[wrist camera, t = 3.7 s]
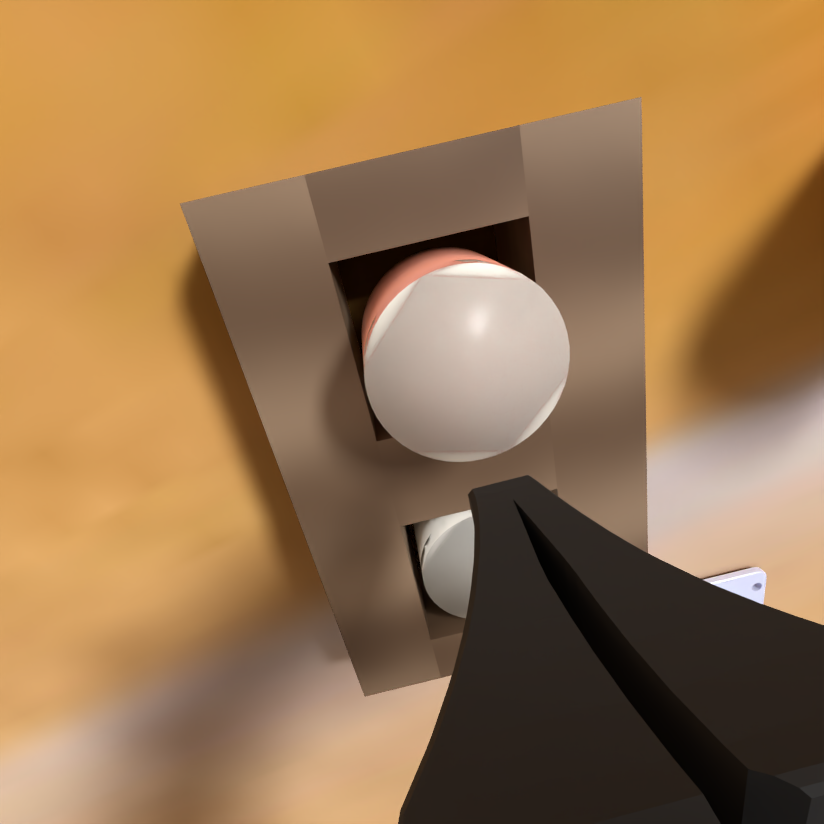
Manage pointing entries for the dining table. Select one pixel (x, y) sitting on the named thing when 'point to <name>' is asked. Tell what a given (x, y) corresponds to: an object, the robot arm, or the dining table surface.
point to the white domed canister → (447, 559)
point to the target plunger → (461, 354)
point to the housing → (344, 371)
